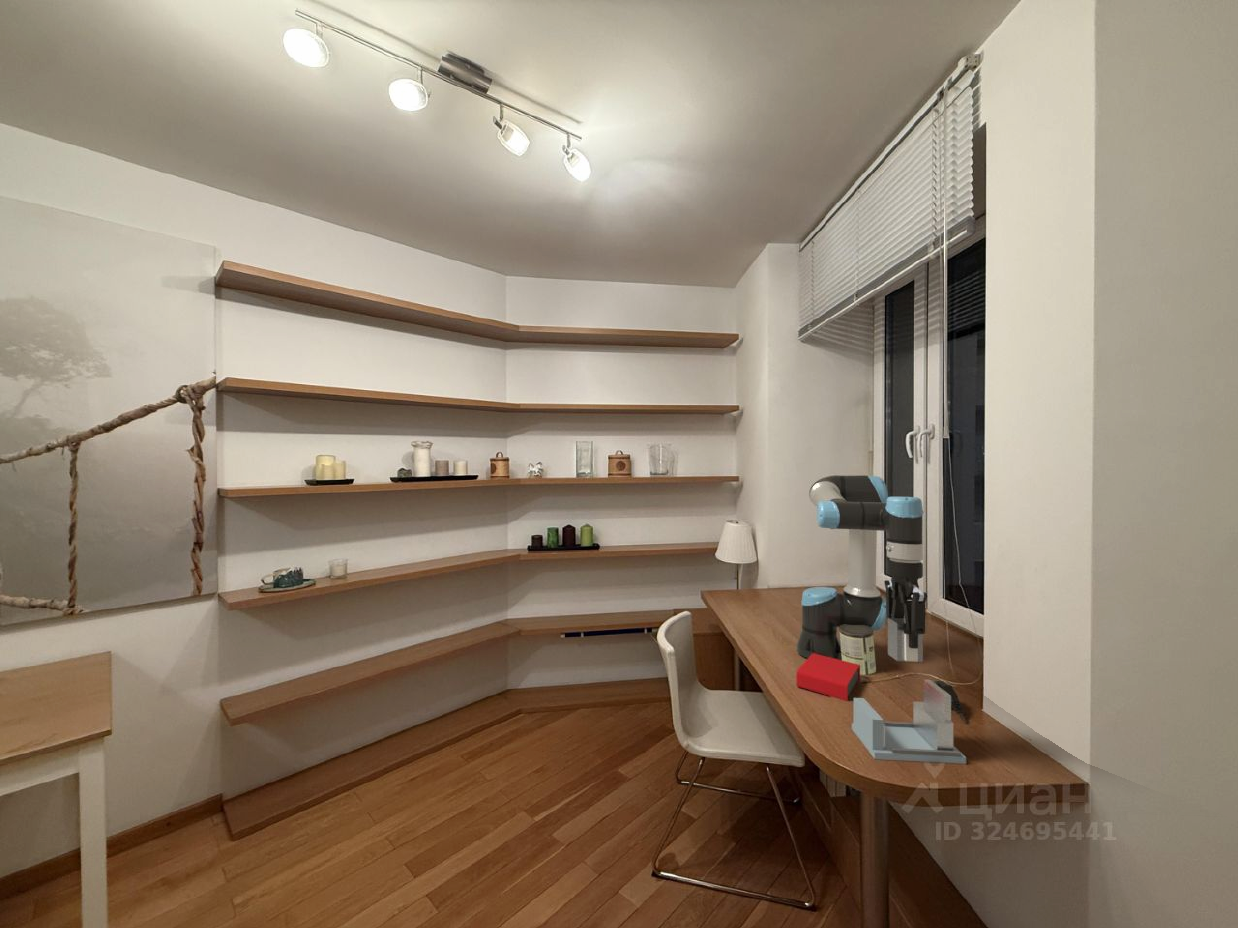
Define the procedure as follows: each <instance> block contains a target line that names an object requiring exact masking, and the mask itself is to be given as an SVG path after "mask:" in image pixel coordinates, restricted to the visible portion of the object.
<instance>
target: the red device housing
mask: <svg viewBox="0 0 1238 928" xmlns="http://www.w3.org/2000/svg"><path fill="white" fill-rule="evenodd" d="M860 679H861V674H860V665H858V664H854V663H850V662H846V661H842V659H841V660H838V659H834V658H830V657H826V656H822V655H818V654H814V653H812V654H811V656H810V657H809V658H806V660H805V661H804V662H803V663H802V664H801V665H800V667H799V668H798V669H797V670H796V687H797V688H802V689H805V690H808V691H811V692H815V693H818V694H821V695H825V696H828V697H833V698H835V699H839V700H843V701H846V702H848V700H849V699H848V698H849V695H850V694H851V692H852V690H853V688H854V687H855V685H856V683H857V681H860Z"/></svg>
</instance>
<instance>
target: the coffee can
mask: <svg viewBox="0 0 1238 928" xmlns="http://www.w3.org/2000/svg"><path fill="white" fill-rule="evenodd" d="M838 630H839V643H840V646H841V655H842V659H841V660H842V661H846V662H850V663H854V664H858V665H860V676H869V675H870V676H871V675H874V674H876V673H877V667H876V666H877V663H876V653H875V643H874V630H873V629H872V628H870V627H868V626H865V625H850V624H843V625H841V626H839V627H838Z"/></svg>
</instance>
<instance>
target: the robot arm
mask: <svg viewBox="0 0 1238 928" xmlns="http://www.w3.org/2000/svg"><path fill="white" fill-rule="evenodd" d="M808 496H809V499H810V502H812V504H813V505H814V506H815V507H816V520H817V525H818V527H820V528H821V529H830V530H836V529H837V530H848V571H847V574H848V577H847V578H848V583H847V584H846V586H844V587H843V593H838V591H837V589H836V588H834V587H827V586H815V587H814V586H813V587H809V588H807V589H804V590H803V591H802V594H801V595H802V596H801V603H800V604H801V630H800V633H799V636H798V639H797V642H796V652H797V653H798V654H799V655H800V656H802V657H803V658H805V659H808V658H809V657H810V656H811V654H812V653H814V654H818V655H822V656H826V657H830V658H834V659H838V660H842V655H841V644H840V639H839V637H838V634H837V633H838V630H837V629H838V628H839V626H841V625H843V624H850V625H865V626H868V627H870V628H872V629H873V631H877V632H878V631H880V630H882V629H883V628H884V626H885V623H886V620H887V621H888V618H905V622H906V631H903V632H904V660H905V661H904V662H912V661H918V635H919V634H923V635H925V634H926V602H927V599H928V593H927V592H923V591H921V590H920V585H919V581H918V580H919V579H922V578H923V576H924V565H923V564H924V563H923V562H922V561H923V560H924V542H923V541H924V540H923V538H924V537H923V527H924V526H923V522H924V521H923V515H924V510H923V501H922V499H921V498H919V497H917V496H889V492H888V488H887V485H886V483H885V481H884V480H883V478H882V477H881V476H879V475H878V476H876V475H866V474H865V475H838V474H837V475H828V476H825V477H822V478H820V479H818V480H816V481H815V482H814V483H813V484H812V485H811V486H810V489H809V495H808ZM878 531H882V532H883V531H884V532H886V546H885V549H886V557H887V558H888V559H887V560H886V574H887V575H889V576H891V578H890V580H884V587H885V597H883V596H882V594H881V591H880V590H879V589H878V588H877V545H878V544H877V537H878Z"/></svg>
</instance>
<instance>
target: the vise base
mask: <svg viewBox="0 0 1238 928" xmlns="http://www.w3.org/2000/svg"><path fill="white" fill-rule="evenodd" d="M851 730H852V731H853V733H854V735H856V737H857V738H858V739H859V740H860V742H861V744H863V746H864V747H865V749H866V750H867V751H868V752H869V755H871V757H872V758H873V759H874V760H884V761H885V760H887V761H903V762H904V761H905V762H925V763H926V762H927V763H944V764H945V763H946V764H962V765H967V757H966V756H965V755H964V754H963V753H962V752H961V751H960V750H959V749H958V748H957V747H956V746H955V745H953V751H942V750H936V749H935V748H934V747H933V746H932V745H931V744H930V743H929V742H928V741H927V740H926V739H925V738H924V737H923V736H922V735H921V734H920V733H919V732H918V731H917V730H916V729H915V728H914V727H913V722H904V721H900V722H899V721H885V720H884V719H883V717H882V716H881V715H880V714H879V713H878V712H877V711H876V710H875V709H874V708H873V707H872V706H871V705H870V703H869V702H868V701H867V700H866V698H863V697H853V722H851Z"/></svg>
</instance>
